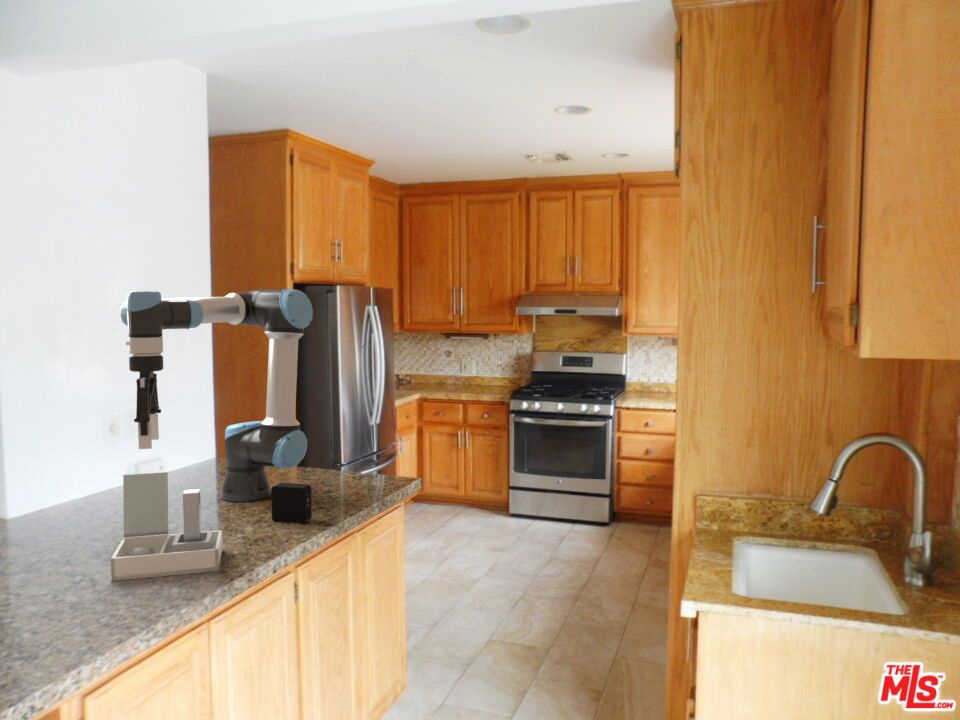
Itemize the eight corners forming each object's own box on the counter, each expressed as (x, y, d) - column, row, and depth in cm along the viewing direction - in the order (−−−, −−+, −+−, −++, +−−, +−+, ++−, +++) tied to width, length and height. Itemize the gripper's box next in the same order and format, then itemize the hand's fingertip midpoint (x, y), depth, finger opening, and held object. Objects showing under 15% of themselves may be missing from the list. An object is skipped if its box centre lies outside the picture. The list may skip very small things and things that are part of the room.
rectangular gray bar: (186, 556, 168) (184, 489, 166) (201, 555, 169) (200, 488, 167) (184, 561, 164) (182, 493, 163) (200, 560, 165) (198, 492, 164)
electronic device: (305, 524, 196) (304, 488, 195) (271, 521, 198) (270, 486, 197) (311, 519, 200) (311, 484, 199) (278, 517, 202) (278, 482, 201)
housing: (124, 558, 169) (123, 534, 168) (222, 550, 175) (222, 526, 174) (111, 581, 155) (110, 554, 155) (218, 570, 162) (218, 545, 161)
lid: (123, 537, 168) (124, 537, 169) (167, 534, 170) (168, 533, 171) (123, 475, 169) (124, 474, 170) (167, 472, 171) (167, 472, 172)
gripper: (137, 351, 183) (140, 435, 185) (119, 358, 161) (123, 454, 163) (169, 351, 185) (171, 434, 187) (155, 358, 163) (158, 452, 165)
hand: (149, 443), depth 175 cm, fingers open, 11 cm apart
